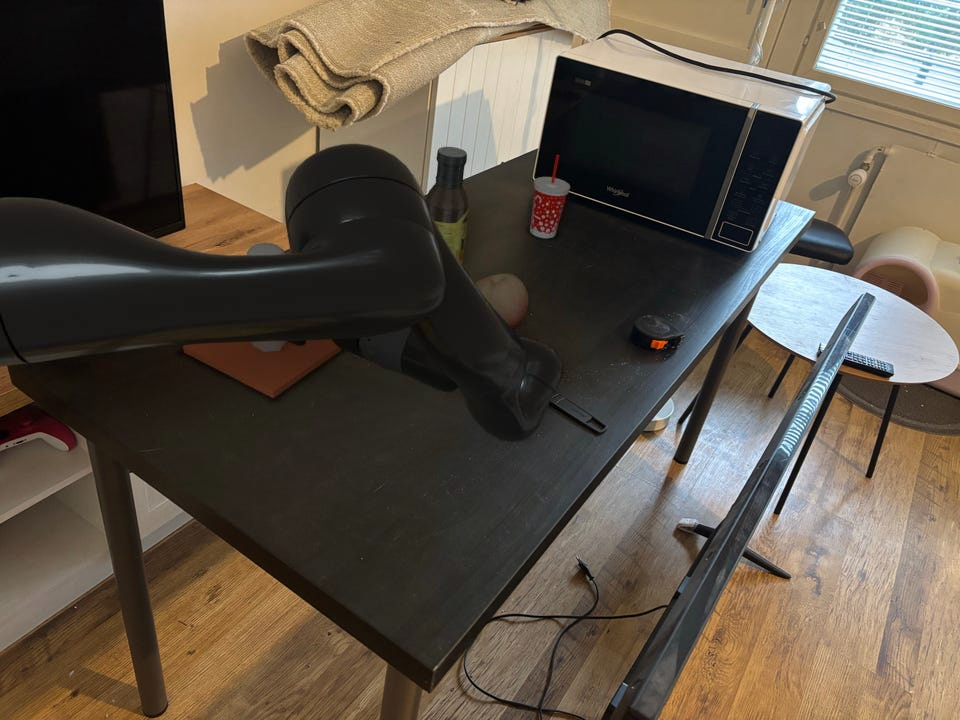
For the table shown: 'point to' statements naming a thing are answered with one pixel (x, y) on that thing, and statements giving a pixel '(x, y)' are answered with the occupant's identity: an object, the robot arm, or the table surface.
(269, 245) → the salt shaker
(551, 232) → the beverage cup
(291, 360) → the mat
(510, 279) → the fruit
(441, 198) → the sauce bottle
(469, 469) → the table surface
